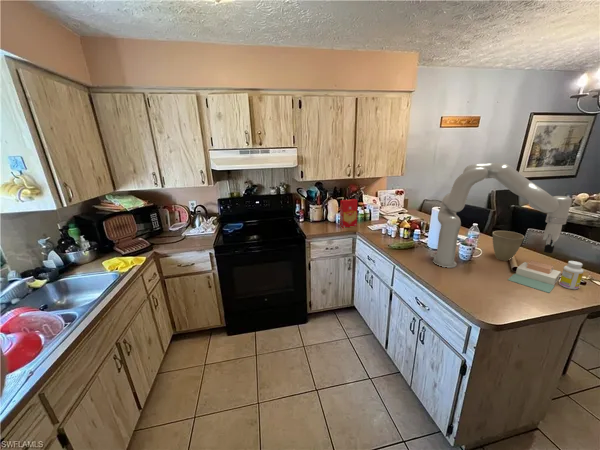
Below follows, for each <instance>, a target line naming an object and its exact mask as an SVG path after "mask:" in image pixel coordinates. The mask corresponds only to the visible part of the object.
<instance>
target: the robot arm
mask: <svg viewBox="0 0 600 450" xmlns="http://www.w3.org/2000/svg"><path fill="white" fill-rule="evenodd" d="M485 179H494V180H496V181H497V182H499V183H500V184H502V185H503V186H504V187H505V188H507V189H508V191H510V192H512V193H513V194H515V195H517V196H519V197H521V198H523V199H525V200H527V201H528V206H529V207H530V208H531V209H534V210H535V211H536V210H537V211H539V212H541V213H544V214H546V217H545V223H547V224H546V225H545V227H544V228H545V229H544V232H543V236H542V239H541V240H542V241H545V246H544V249H543V252H544V253H547V254H553V253H554V249H555V243H556V242H557V241H558V240H559V238H560V236H561V232H562V229H563V225H566V224H567V221H568V217H569V213H570V208H571V205H572V198H571V197H569V196H565V195H555V196H554V195H551V194H550V193H548V191H546V190H544V189H543V188H541V187H540V186H539V185H537V184H535V183H534V182H532V181H531V180H529V179H528V178H526V176H525V175H522V173H520V172H519V171H518V170H517V169H515V168H514V167H513V166H512V165H510V164H507V163H502V162H490V163H474V164H473V163H472V164H469V165H468V166H466V167H465V168H464V169H463V171H462V173H461V174H459V176H458V177H457V178H456V179H455V180H454V182H453V184H452V187H451V190H450V193H447V194H446V195H444V196H443V198H442V199H441V203H440V207H439V210H438V212H437V213H438V214H437V220H438V223H439V224H440V229H439V234H438V240H437V241H438V242H437V249H436V253H435V252H430V254H429V255H430V258H433V259H432V263H433V262H434V263H435V264H437V265H439V266H438V267H440V266H442V267H441V268H445V267H447V268H446V269H453V268H456V267H457V262H456V261H455V257H456V250H457V243H458V237H459V232H460V228H461V226H462V222H461V218H460V217H459V216H458V215H457V213H459V212H461V211H462V210H464V208H465V207H466V203H467V200H468V199H467V198H468V196H469V193H470V191H471V189H472V187H473V186H474V185H475V184H477V183H478V182H481V181H483V180H485ZM434 263H433V264H434ZM435 264H434V265H435ZM437 265H436V266H437Z"/></svg>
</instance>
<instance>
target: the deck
mask: <svg viewBox="0 0 600 450" xmlns="http://www.w3.org/2000/svg"><path fill="white" fill-rule="evenodd" d="M528 263H529V262H526V261H524V262H523V263H521V264H520V265H519V266H518V267H517V268H516V271H515V274H517V275H521V276H524V277H527V278H531V279H534V280H538V281H541V282H544V283H548V284H551V285H555V284H557V282H558V281H559V280H560V278H561V275H562V271H560V270H556V269H553V270H552V272H551V273H550V274H547V273H544V272H540V271H536V270H533V269H529V268H527V264H528Z"/></svg>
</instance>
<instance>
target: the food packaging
mask: <svg viewBox="0 0 600 450" xmlns="http://www.w3.org/2000/svg"><path fill="white" fill-rule="evenodd" d="M339 201H340V203H339V204H340V205H339V226H341V227H342V229H345V228H344V227H348V228H351V227H350V226H354V227H357V226H358V199H356V198H351V199H341V200H339ZM341 227H340V228H341Z"/></svg>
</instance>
